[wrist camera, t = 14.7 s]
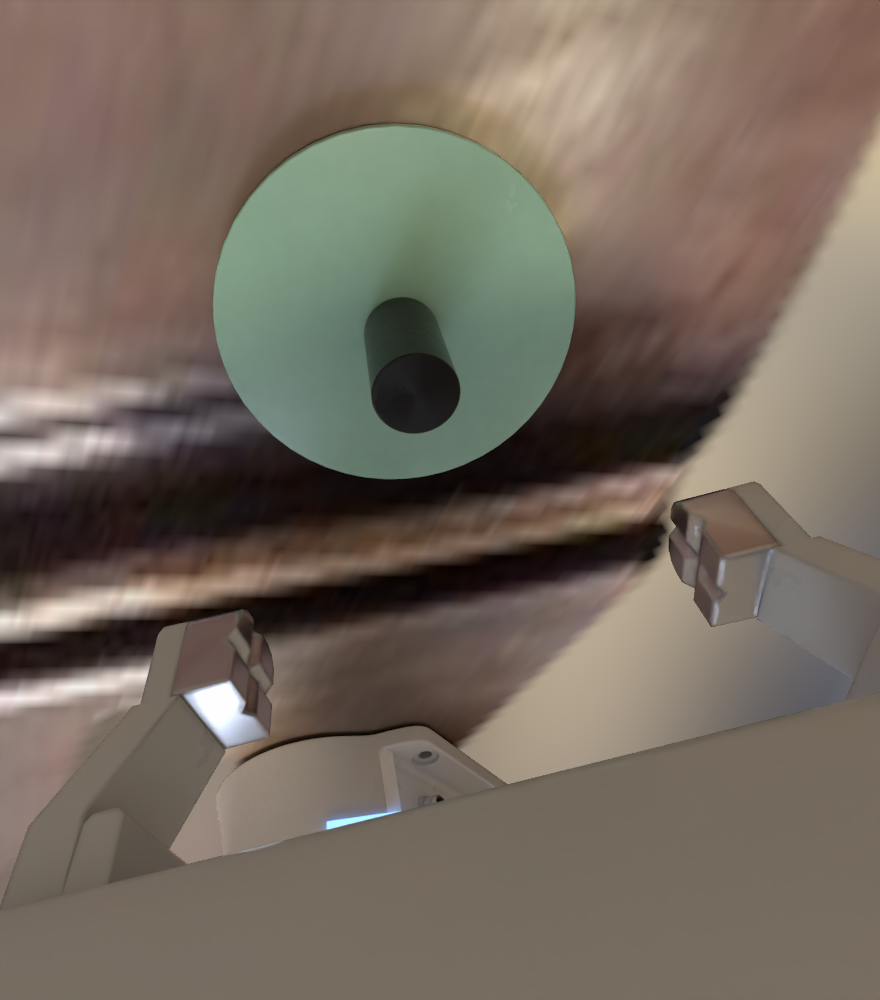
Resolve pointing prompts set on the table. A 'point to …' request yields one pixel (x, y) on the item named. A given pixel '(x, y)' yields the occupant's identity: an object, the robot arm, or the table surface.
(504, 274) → the lid
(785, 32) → the table surface
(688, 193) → the table surface
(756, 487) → the robot arm
